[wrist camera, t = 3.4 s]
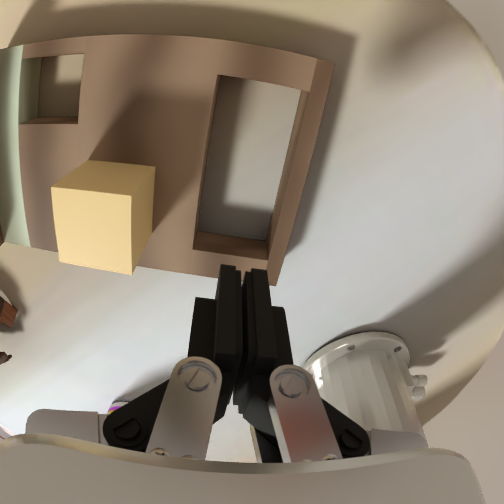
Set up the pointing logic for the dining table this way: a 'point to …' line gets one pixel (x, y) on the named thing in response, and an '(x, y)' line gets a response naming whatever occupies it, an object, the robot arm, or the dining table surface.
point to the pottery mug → (6, 322)
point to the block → (104, 215)
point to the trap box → (150, 138)
